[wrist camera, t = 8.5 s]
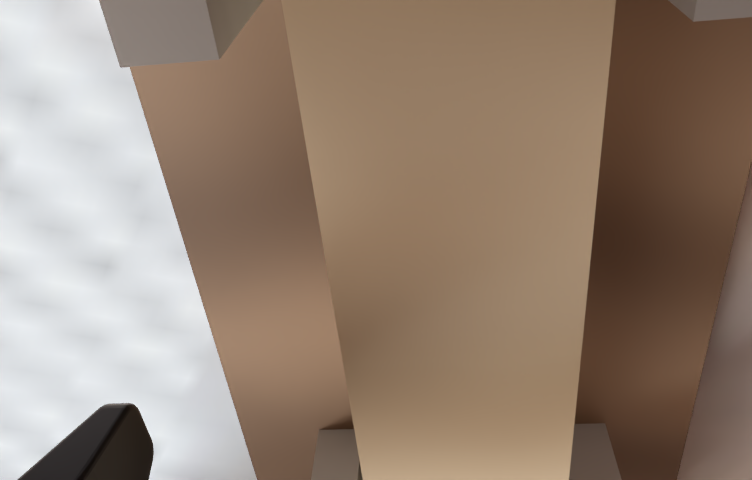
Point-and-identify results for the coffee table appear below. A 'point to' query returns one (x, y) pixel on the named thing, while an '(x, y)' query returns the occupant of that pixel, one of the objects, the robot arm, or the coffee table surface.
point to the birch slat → (456, 220)
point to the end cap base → (305, 248)
